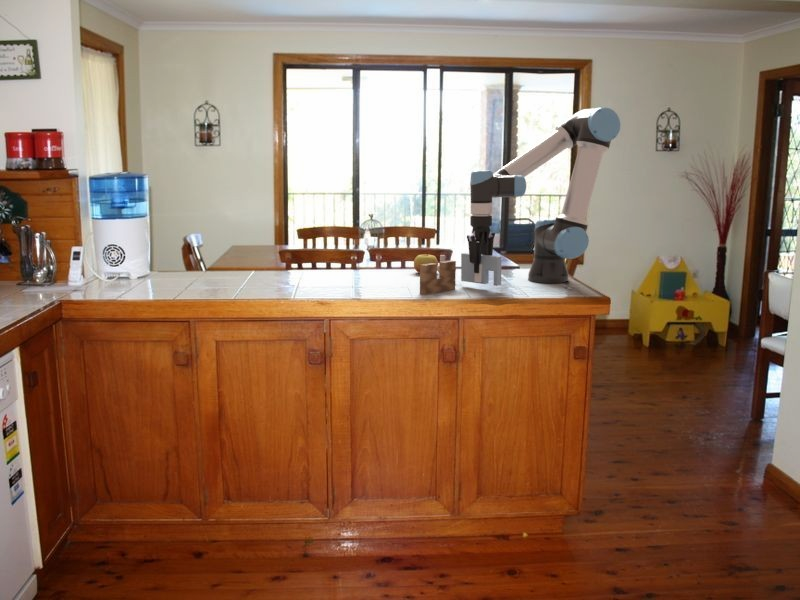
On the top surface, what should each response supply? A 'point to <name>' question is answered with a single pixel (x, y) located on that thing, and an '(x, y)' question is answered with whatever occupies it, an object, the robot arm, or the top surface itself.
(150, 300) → the top surface
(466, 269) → the grey notched arch block
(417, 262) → the apple
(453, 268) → the notched wooden slab
